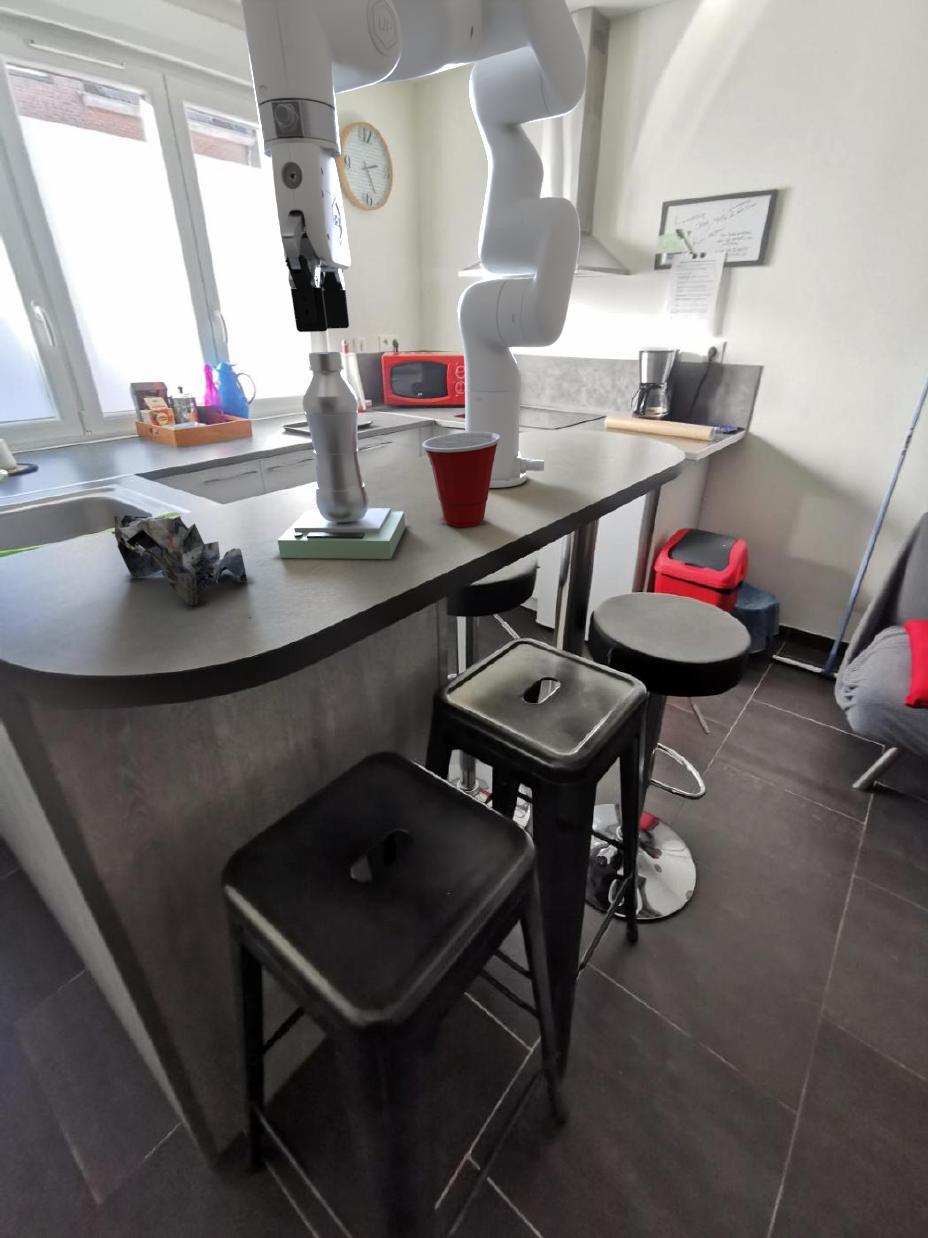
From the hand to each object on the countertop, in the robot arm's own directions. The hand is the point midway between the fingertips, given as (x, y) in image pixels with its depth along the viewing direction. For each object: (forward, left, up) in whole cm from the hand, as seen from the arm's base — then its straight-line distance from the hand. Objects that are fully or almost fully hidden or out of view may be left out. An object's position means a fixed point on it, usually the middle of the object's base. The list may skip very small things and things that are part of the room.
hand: (325, 329), depth 64 cm
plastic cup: (-15, -9, -26) cm, 31 cm away
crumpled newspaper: (+15, +14, -26) cm, 33 cm away
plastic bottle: (0, 0, -23) cm, 23 cm away
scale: (0, 0, -25) cm, 25 cm away
